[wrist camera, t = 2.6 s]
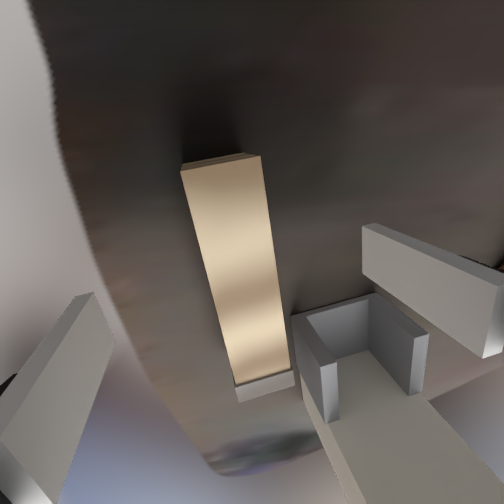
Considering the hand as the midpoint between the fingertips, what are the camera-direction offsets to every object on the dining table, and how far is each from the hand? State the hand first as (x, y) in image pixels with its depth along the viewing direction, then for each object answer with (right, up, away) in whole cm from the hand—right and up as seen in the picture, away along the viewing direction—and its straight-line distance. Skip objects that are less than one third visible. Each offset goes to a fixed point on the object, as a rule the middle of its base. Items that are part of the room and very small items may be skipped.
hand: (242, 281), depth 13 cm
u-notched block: (+9, -9, +14) cm, 18 cm away
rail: (-1, 0, +8) cm, 8 cm away
